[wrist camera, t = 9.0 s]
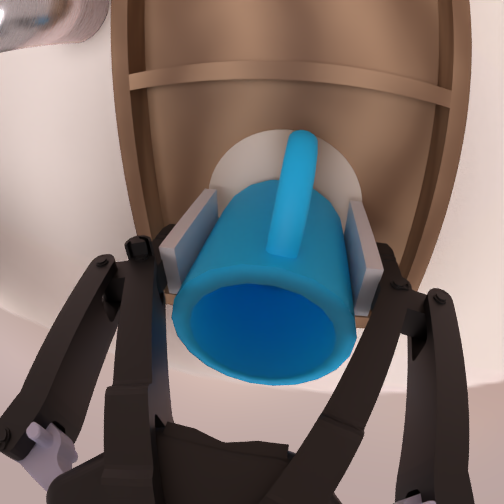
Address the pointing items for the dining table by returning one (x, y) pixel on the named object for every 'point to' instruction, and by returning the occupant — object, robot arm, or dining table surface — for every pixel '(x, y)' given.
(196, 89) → the tray
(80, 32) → the clear rounded cylinder
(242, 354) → the mug
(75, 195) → the dining table surface
